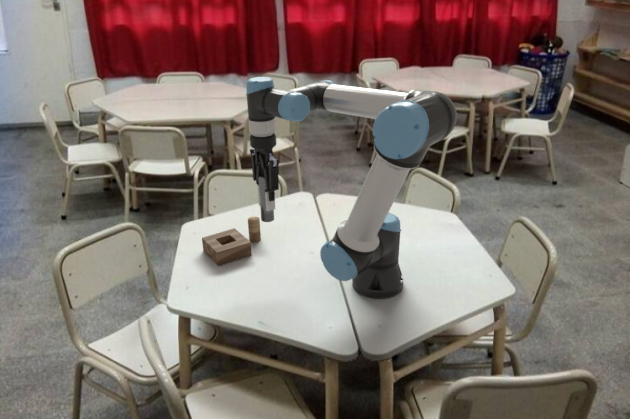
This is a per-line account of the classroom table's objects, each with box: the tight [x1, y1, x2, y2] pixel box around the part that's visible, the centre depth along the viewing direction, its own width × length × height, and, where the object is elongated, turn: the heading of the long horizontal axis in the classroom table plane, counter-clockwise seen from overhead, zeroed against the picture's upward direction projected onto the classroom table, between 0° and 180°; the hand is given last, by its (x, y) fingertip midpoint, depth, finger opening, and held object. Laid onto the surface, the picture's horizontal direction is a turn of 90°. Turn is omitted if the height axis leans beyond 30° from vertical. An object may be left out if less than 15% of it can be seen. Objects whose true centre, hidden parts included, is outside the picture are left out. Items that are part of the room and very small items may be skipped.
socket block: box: [201, 228, 253, 267], centre depth 182 cm, size 12×12×5 cm
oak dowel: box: [247, 216, 262, 243], centre depth 190 cm, size 4×4×8 cm
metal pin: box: [259, 175, 275, 223], centre depth 166 cm, size 4×4×14 cm
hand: (267, 206), depth 167 cm, fingers closed on metal pin, 4 cm apart
